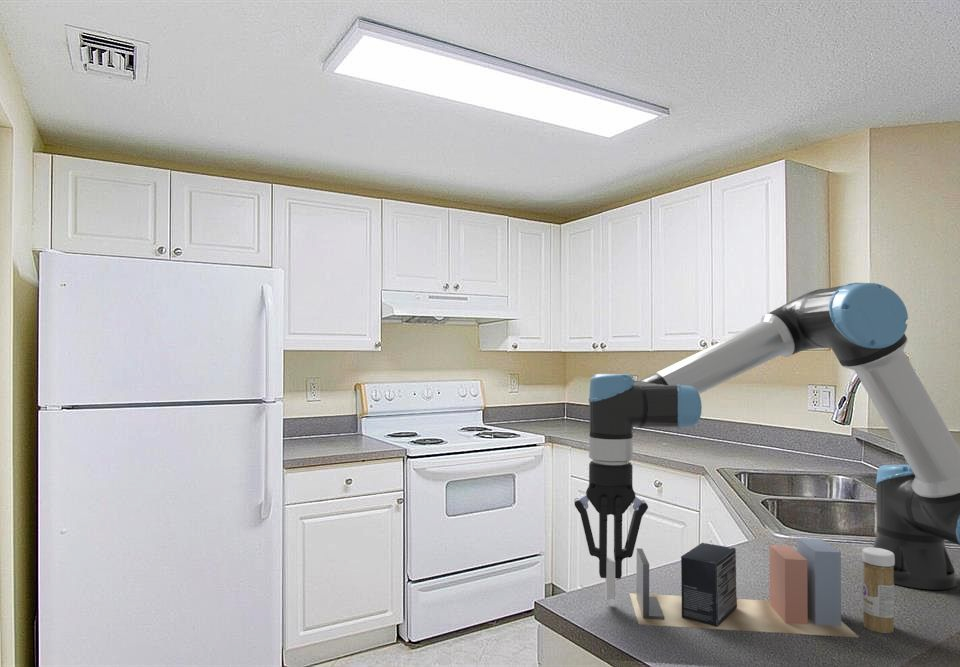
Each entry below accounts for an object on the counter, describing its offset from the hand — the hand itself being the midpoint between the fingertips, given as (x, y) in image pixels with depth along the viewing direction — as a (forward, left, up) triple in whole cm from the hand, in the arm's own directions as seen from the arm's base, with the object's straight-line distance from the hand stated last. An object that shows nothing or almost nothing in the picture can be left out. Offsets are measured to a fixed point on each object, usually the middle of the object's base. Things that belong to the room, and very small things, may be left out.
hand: (610, 596), depth 114 cm
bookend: (-7, 0, -2) cm, 7 cm away
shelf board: (-21, 0, -3) cm, 21 cm away
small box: (-17, 0, -2) cm, 17 cm away
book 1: (-30, -1, -2) cm, 30 cm away
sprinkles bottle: (-43, +3, -3) cm, 43 cm away
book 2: (-35, -1, -2) cm, 35 cm away
